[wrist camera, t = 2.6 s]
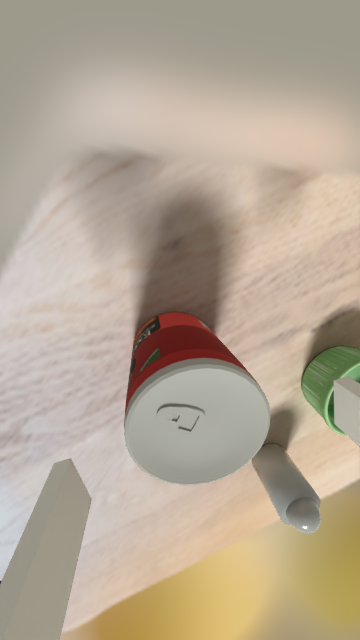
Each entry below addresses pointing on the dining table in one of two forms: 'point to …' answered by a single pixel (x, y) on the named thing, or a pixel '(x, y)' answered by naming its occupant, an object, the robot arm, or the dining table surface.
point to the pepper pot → (287, 488)
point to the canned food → (190, 404)
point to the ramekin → (329, 379)
